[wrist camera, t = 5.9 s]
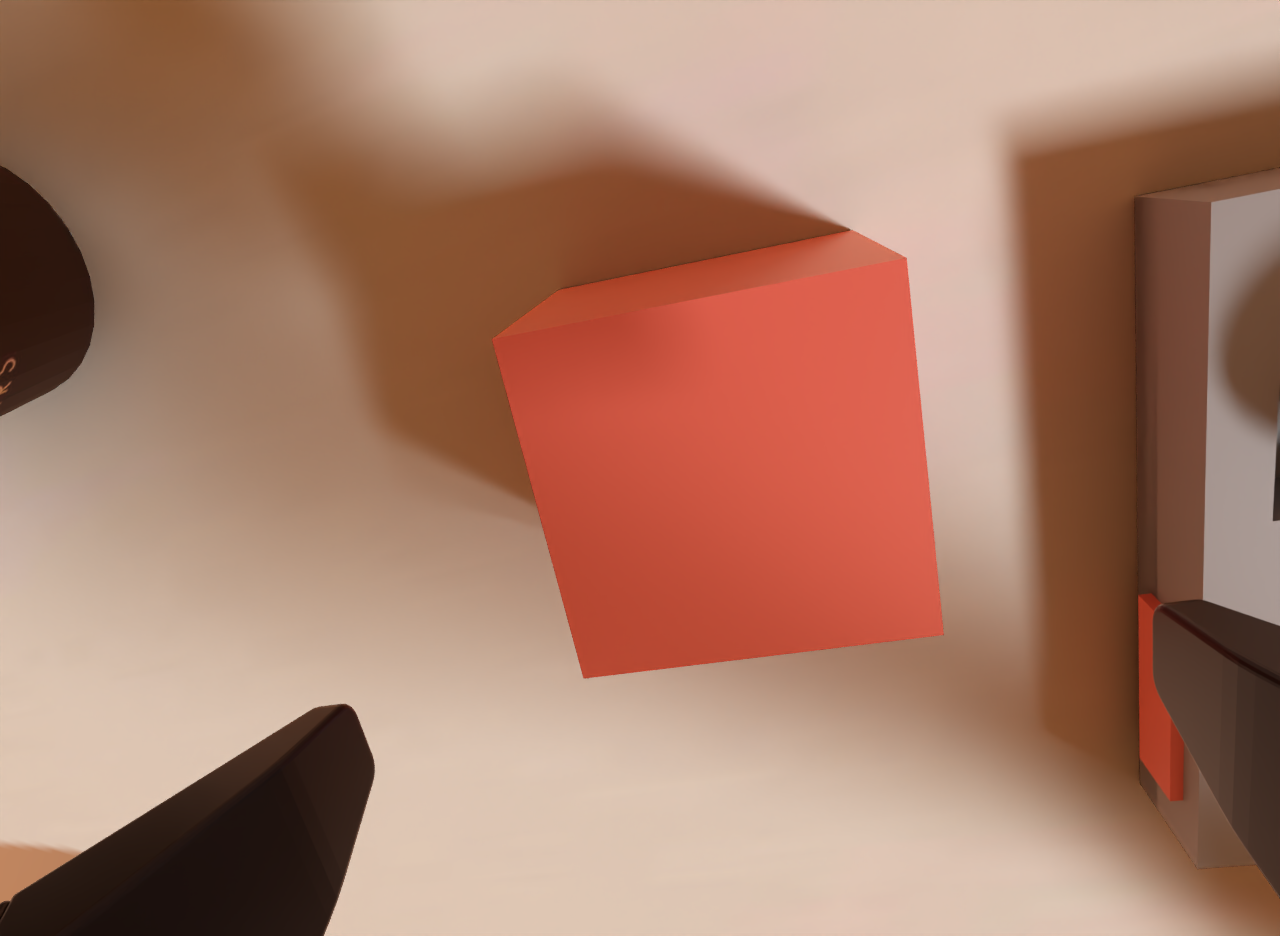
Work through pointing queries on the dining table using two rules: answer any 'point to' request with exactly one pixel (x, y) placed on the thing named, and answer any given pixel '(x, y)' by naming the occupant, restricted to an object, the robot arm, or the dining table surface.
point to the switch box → (1205, 449)
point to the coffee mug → (38, 297)
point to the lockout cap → (730, 456)
